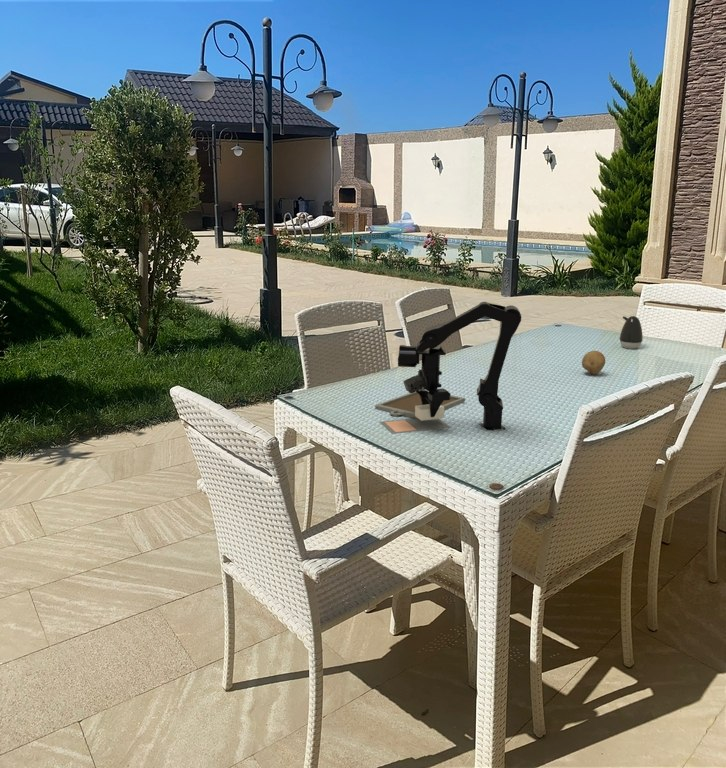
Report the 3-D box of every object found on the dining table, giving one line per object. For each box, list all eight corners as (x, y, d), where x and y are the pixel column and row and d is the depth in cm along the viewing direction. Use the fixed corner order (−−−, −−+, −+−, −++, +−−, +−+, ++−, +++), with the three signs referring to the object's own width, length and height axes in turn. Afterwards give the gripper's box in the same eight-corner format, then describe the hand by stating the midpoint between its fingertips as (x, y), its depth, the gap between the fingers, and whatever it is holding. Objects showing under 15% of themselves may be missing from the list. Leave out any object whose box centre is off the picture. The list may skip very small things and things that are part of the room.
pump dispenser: (625, 344, 351) (629, 313, 347) (645, 348, 343) (649, 316, 339) (614, 347, 345) (617, 315, 340) (634, 351, 337) (637, 318, 333)
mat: (451, 429, 231) (451, 426, 231) (392, 435, 225) (392, 433, 225) (435, 417, 242) (435, 415, 242) (379, 423, 236) (379, 421, 236)
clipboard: (465, 397, 257) (416, 417, 235) (465, 402, 258) (415, 422, 235) (420, 388, 269) (370, 406, 247) (420, 393, 270) (370, 411, 247)
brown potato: (590, 378, 291) (593, 354, 288) (576, 373, 299) (578, 349, 296) (608, 376, 294) (610, 352, 292) (593, 370, 302) (595, 347, 299)
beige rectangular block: (444, 417, 233) (444, 407, 232) (421, 420, 231) (421, 410, 230) (437, 413, 238) (437, 403, 237) (415, 416, 235) (415, 405, 234)
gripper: (396, 362, 236) (395, 408, 240) (418, 377, 219) (417, 426, 223) (427, 360, 239) (426, 405, 243) (452, 374, 222) (450, 422, 227)
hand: (429, 414), depth 234 cm, fingers closed on beige rectangular block, 5 cm apart
